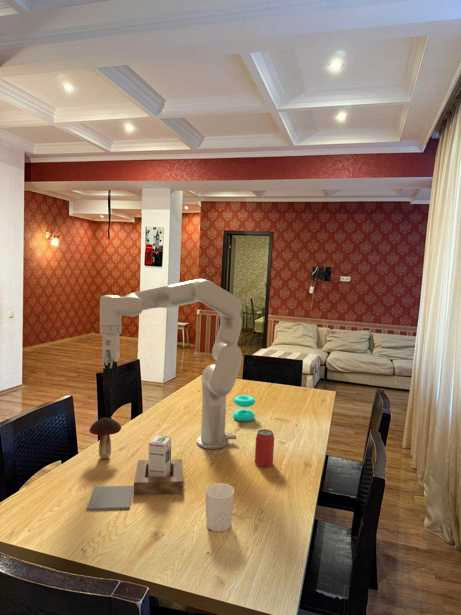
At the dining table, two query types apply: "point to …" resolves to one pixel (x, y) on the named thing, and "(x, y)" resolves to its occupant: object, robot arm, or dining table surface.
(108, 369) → the robot arm
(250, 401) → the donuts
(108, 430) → the decorative mushroom
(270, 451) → the beer can
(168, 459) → the syrup box
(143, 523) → the dining table surface
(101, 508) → the slate mat
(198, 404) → the dining table surface
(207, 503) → the white cup
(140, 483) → the walnut pocket holder
